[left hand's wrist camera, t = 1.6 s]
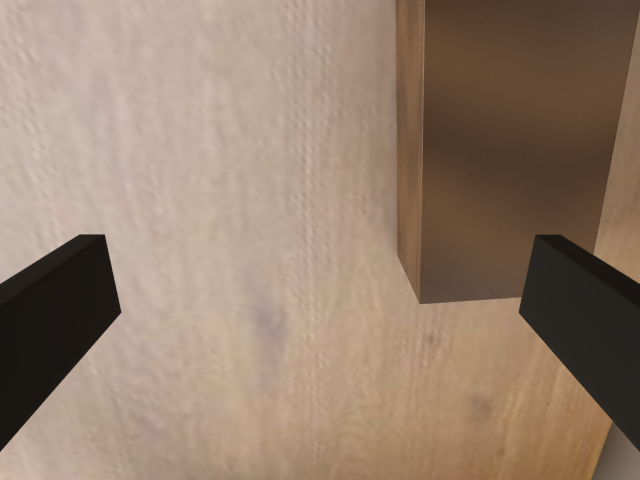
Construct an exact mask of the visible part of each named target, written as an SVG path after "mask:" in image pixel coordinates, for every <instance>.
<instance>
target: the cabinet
mask: <svg viewBox="0 0 640 480" xmlns="http://www.w3.org/2000/svg"><path fill="white" fill-rule="evenodd" d="M639 10H640V0H396V61H397V194H398V258H399V260H400V262H401V264H402V266H403V269H404V271H405V273H406V275H407V277H408V279H409V282H410V284H411V286H412V288H413V290H414V292H415V295H416V297H417V299H418V301H419V303H420V304H430V303H444V302H459V301H473V300H488V299H502V298H517V297H522V294H523V290H524V285H525V280H526V276H527V271H528V266H529V262H530V257H531V252H532V248H533V243H534V238H535V234H560V235H562V236H564V237H565V238H567V239H568V240H570V241H572V242H573V243H575V244H576V245H578V246H580V247H581V248H583V249H584V250H586V251H588V252H589V253H591V254H592V255H593V254H594V248H595V243H596V238H597V233H598V227H599V222H600V217H601V211H602V206H603V201H604V195H605V190H606V185H607V179H608V174H609V169H610V164H611V158H612V153H613V148H614V142H615V137H616V132H617V126H618V121H619V116H620V110H621V105H622V100H623V95H624V89H625V84H626V79H627V73H628V68H629V63H630V57H631V52H632V47H633V41H634V36H635V31H636V26H637V20H638V15H639Z"/></svg>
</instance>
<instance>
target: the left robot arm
mask: <svg viewBox="0 0 640 480" xmlns="http://www.w3.org/2000/svg"><path fill="white" fill-rule="evenodd" d="M120 314H121V308H120V304H119V299H118V294H117V290H116V285H115V280H114V276H113V271H112V266H111V262H110V257H109V252H108V248H107V243H106V238H105V234H80V235H78V236H76V237H75V238H73V239H72V240H70V241H68V242H67V243H65V244H64V245H62V246H60V247H59V248H57V249H56V250H54V251H52V252H51V253H49V254H48V255H46V256H44V257H43V258H41V259H40V260H38V261H36V262H35V263H33V264H32V265H30V266H28V267H27V268H25V269H24V270H22V271H20V272H19V273H17V274H16V275H14V276H12V277H11V278H9V279H8V280H6V281H4V282H3V283H1V284H0V451H1V450H2V449H3V448H4V447H5V446H6V445H7V443H8V442H9V441H10V440H11V439H12V438H13V437H14V435H15V434H16V433H17V432H18V431H19V430H20V428H21V427H22V426H23V425H24V424H25V423H26V422H27V420H28V419H29V418H30V417H31V416H32V415H33V414H34V412H35V411H36V410H37V409H38V408H39V407H40V405H41V404H42V403H43V402H44V401H45V400H46V399H47V397H48V396H49V395H50V394H51V393H52V392H53V391H54V389H55V388H56V387H57V386H58V385H59V384H60V383H61V381H62V380H63V379H64V378H65V377H66V376H67V374H68V373H69V372H70V371H71V370H72V369H73V368H74V366H75V365H76V364H77V363H78V362H79V361H80V360H81V358H82V357H83V356H84V355H85V354H86V353H87V351H88V350H89V349H90V348H91V347H92V346H93V345H94V343H95V342H96V341H97V340H98V339H99V338H100V337H101V335H102V334H103V333H104V332H105V331H106V330H107V329H108V327H109V326H110V325H111V324H112V323H113V322H114V320H115V319H116V318H117V317H118V316H119V315H120ZM519 314H520V315H521V316H522V317H523V318H524V319H525V320H526V322H527V323H528V324H529V325H530V326H531V327H532V329H533V330H534V331H535V332H536V333H537V334H538V335H539V337H540V338H541V339H542V340H543V341H544V342H545V343H546V345H547V346H548V347H549V348H550V349H551V350H552V351H553V353H554V354H555V355H556V356H557V357H558V358H559V360H560V361H561V362H562V363H563V364H564V365H565V366H566V368H567V369H568V370H569V371H570V372H571V373H572V374H573V376H574V377H575V378H576V379H577V380H578V381H579V383H580V384H581V385H582V386H583V387H584V388H585V389H586V391H587V392H588V393H589V394H590V395H591V396H592V397H593V399H594V400H595V401H596V402H597V403H598V404H599V405H600V407H601V408H602V409H603V410H604V411H605V412H606V414H607V415H608V416H609V417H610V418H611V419H612V420H613V422H614V423H615V424H616V425H617V426H618V427H619V428H620V430H621V431H622V432H623V433H624V434H625V435H626V437H627V438H628V439H629V440H630V441H631V442H632V443H633V445H634V446H635V447H636V448H637V449H638V450H639V451H640V284H639V283H637V282H636V281H634V280H632V279H631V278H629V277H628V276H626V275H624V274H623V273H621V272H620V271H618V270H616V269H615V268H613V267H612V266H610V265H608V264H607V263H605V262H604V261H602V260H600V259H599V258H597V257H596V256H594V255H592V254H591V253H589V252H588V251H586V250H584V249H583V248H581V247H580V246H578V245H576V244H575V243H573V242H572V241H570V240H568V239H567V238H565V237H564V236H562V235H560V234H535V238H534V243H533V248H532V252H531V257H530V262H529V266H528V271H527V276H526V280H525V285H524V290H523V294H522V299H521V304H520V308H519Z"/></svg>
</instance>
